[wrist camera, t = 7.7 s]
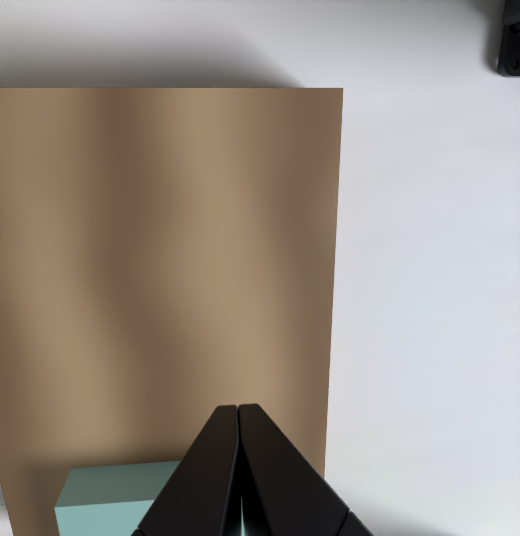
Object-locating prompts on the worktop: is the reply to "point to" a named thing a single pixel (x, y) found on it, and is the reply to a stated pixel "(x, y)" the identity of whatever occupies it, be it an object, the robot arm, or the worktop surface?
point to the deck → (159, 274)
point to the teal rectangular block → (110, 498)
